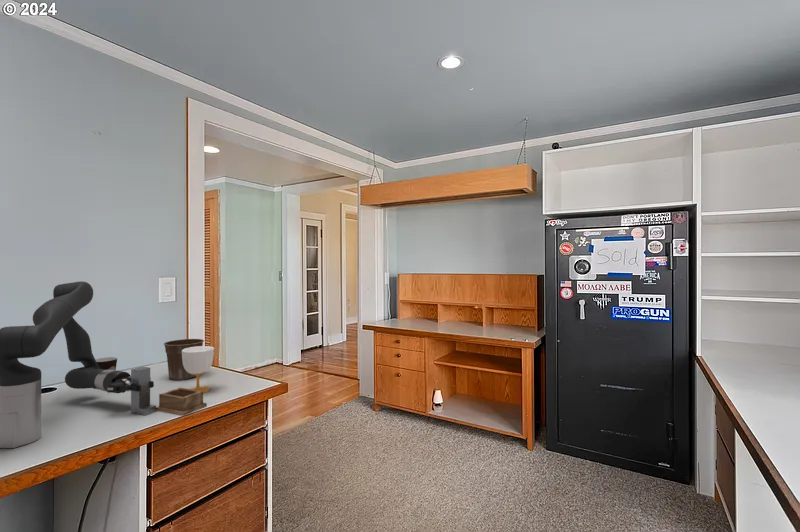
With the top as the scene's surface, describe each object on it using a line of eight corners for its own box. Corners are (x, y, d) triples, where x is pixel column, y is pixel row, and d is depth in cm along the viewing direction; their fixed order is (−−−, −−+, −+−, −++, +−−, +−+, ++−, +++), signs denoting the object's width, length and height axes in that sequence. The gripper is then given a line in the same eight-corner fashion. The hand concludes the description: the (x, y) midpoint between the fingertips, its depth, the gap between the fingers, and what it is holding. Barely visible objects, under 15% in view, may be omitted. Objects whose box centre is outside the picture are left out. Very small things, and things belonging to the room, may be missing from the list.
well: (182, 415, 134) (182, 399, 134) (155, 410, 138) (155, 394, 138) (206, 405, 143) (206, 390, 143) (180, 401, 148) (180, 386, 148)
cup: (204, 384, 168) (204, 344, 168) (219, 389, 162) (219, 348, 162) (175, 391, 159) (176, 349, 159) (191, 397, 152) (191, 353, 152)
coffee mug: (113, 378, 177) (113, 356, 177) (119, 382, 172) (120, 359, 172) (81, 384, 168) (81, 360, 168) (86, 388, 163) (86, 364, 163)
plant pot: (164, 374, 184) (164, 340, 184) (203, 370, 192) (203, 337, 192) (162, 383, 170) (162, 346, 170) (204, 378, 177) (204, 343, 177)
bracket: (145, 415, 134) (145, 371, 134) (130, 412, 136) (131, 369, 136) (156, 411, 138) (156, 368, 138) (142, 408, 140) (142, 366, 140)
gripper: (91, 375, 136) (126, 381, 130) (132, 366, 149) (165, 370, 143) (91, 397, 136) (125, 404, 130) (132, 385, 149) (165, 391, 143)
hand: (146, 386), depth 136 cm, fingers closed on bracket, 4 cm apart
